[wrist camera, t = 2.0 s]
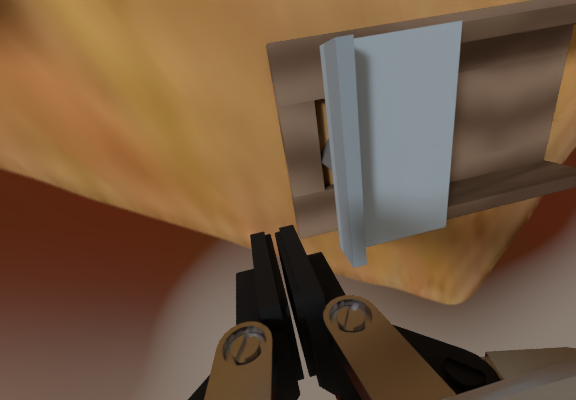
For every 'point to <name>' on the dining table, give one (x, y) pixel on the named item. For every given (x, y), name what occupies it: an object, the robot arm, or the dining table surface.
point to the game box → (468, 111)
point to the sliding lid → (390, 132)
